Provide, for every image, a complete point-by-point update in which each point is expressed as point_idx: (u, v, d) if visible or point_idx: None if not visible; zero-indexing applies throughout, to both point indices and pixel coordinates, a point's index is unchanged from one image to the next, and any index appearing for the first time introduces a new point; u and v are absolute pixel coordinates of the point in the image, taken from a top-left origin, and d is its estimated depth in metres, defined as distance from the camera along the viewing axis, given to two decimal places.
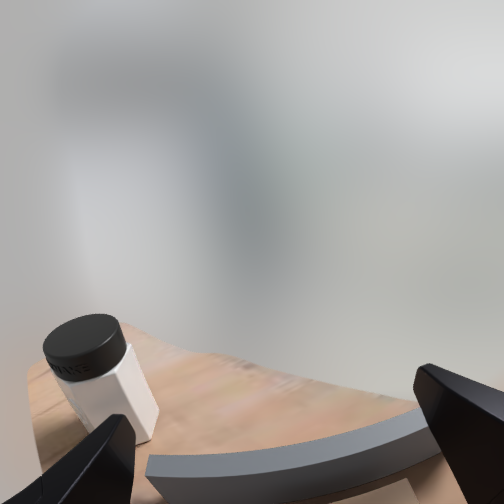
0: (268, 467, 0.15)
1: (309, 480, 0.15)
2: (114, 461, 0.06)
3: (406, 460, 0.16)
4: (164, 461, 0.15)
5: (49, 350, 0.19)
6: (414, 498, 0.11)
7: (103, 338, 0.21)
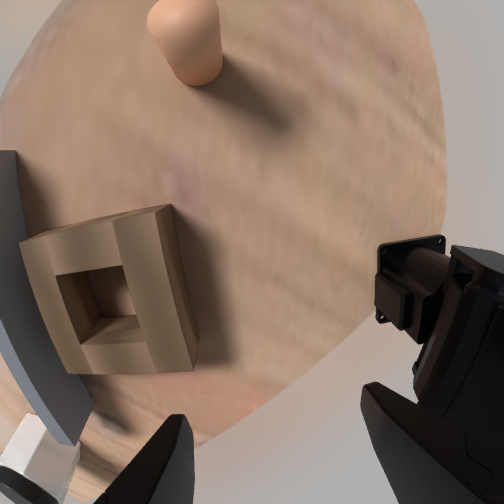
0: (23, 373, 0.15)
1: (28, 327, 0.16)
2: (180, 465, 0.06)
3: (11, 218, 0.16)
4: (56, 435, 0.17)
5: None
6: (39, 239, 0.14)
7: (10, 490, 0.12)
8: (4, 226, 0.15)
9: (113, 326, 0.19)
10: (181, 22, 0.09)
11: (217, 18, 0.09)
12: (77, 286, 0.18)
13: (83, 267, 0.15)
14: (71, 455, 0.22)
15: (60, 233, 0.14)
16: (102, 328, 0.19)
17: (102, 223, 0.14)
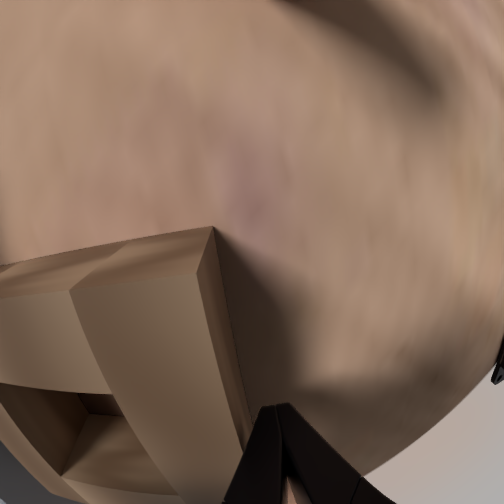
0: None
1: None
2: (284, 457, 0.06)
3: None
4: None
5: None
6: None
7: None
8: None
9: (111, 441, 0.09)
10: None
11: None
12: None
13: (28, 380, 0.05)
14: None
15: None
16: (93, 442, 0.09)
17: (46, 293, 0.05)
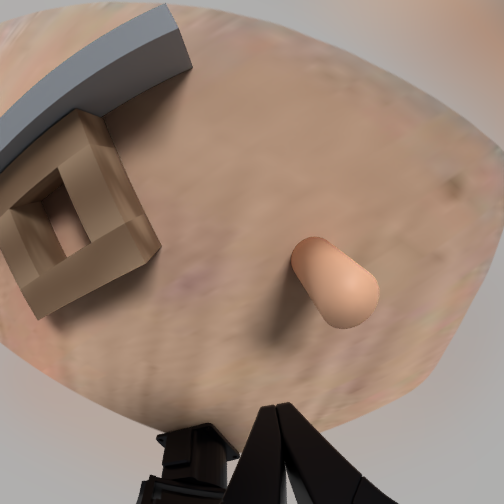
0: None
1: None
2: (283, 457, 0.06)
3: (113, 98, 0.15)
4: None
5: None
6: (84, 137, 0.13)
7: None
8: (102, 98, 0.14)
9: (38, 225, 0.17)
10: (342, 303, 0.14)
11: (349, 326, 0.14)
12: (58, 179, 0.16)
13: (75, 200, 0.14)
14: None
15: (96, 164, 0.14)
16: (32, 214, 0.16)
17: (119, 212, 0.15)
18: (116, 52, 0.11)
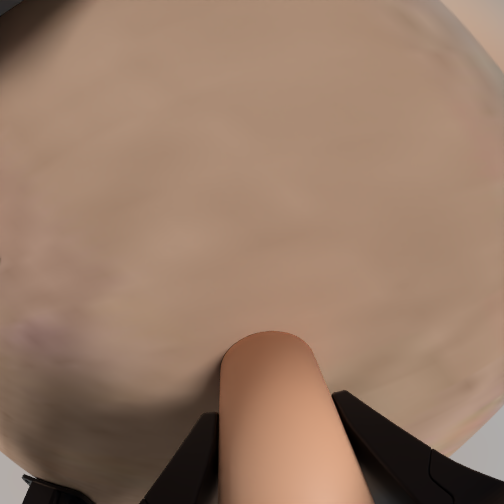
0: None
1: None
2: None
3: None
4: None
5: None
6: None
7: None
8: None
9: None
10: None
11: None
12: None
13: None
14: None
15: None
16: None
17: None
18: None
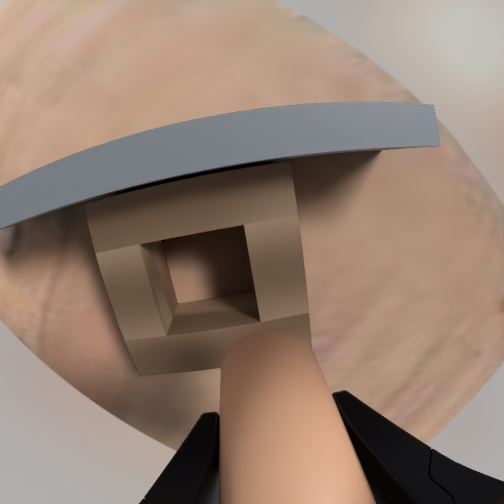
0: (82, 190, 0.10)
1: None
2: (218, 464, 0.06)
3: (311, 155, 0.15)
4: None
5: None
6: (293, 205, 0.13)
7: None
8: (310, 155, 0.14)
9: (159, 264, 0.16)
10: None
11: None
12: None
13: (257, 273, 0.14)
14: None
15: (300, 243, 0.14)
16: (155, 250, 0.16)
17: (306, 300, 0.15)
18: (383, 137, 0.11)
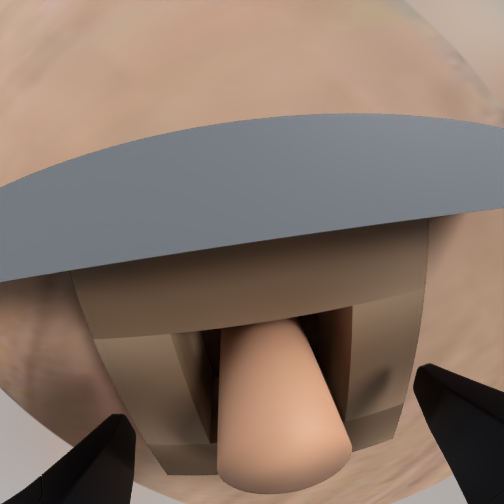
0: (55, 252, 0.05)
1: None
2: (114, 461, 0.06)
3: None
4: None
5: None
6: (422, 273, 0.08)
7: None
8: None
9: (194, 340, 0.10)
10: (268, 469, 0.05)
11: None
12: None
13: (356, 369, 0.08)
14: None
15: (419, 326, 0.08)
16: None
17: (405, 390, 0.09)
18: None
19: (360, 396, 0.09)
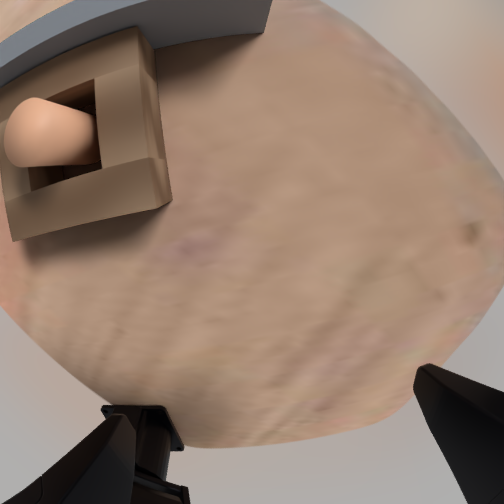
0: None
1: None
2: (114, 461, 0.06)
3: (175, 33, 0.13)
4: None
5: None
6: (135, 56, 0.11)
7: None
8: (166, 27, 0.12)
9: None
10: (19, 134, 0.09)
11: (23, 166, 0.10)
12: (86, 96, 0.13)
13: (100, 118, 0.12)
14: None
15: (139, 87, 0.12)
16: None
17: (146, 144, 0.13)
18: None
19: (107, 142, 0.12)
